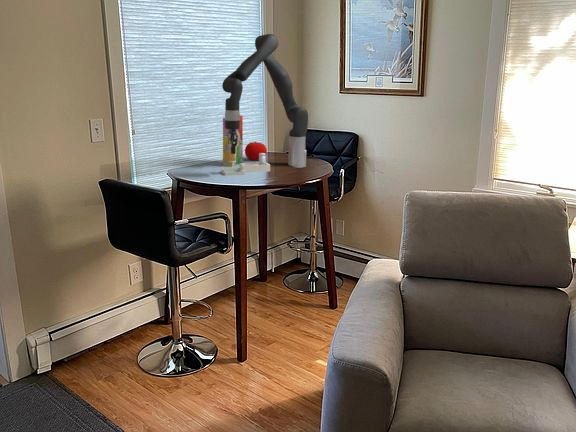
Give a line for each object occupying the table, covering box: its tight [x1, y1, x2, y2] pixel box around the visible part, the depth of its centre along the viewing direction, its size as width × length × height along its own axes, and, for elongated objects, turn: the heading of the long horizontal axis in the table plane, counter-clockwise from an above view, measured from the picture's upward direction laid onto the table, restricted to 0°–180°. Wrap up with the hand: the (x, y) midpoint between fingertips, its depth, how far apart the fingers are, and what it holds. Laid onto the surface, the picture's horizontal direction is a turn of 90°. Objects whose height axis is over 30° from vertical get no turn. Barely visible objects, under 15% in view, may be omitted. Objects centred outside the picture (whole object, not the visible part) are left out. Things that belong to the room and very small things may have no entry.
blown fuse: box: [229, 144, 236, 163], centre depth 277 cm, size 3×3×9 cm
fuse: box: [258, 153, 266, 165], centre depth 288 cm, size 3×3×9 cm
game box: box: [222, 114, 244, 168], centre depth 303 cm, size 21×6×27 cm, turn 168°
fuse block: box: [239, 161, 271, 173], centre depth 287 cm, size 15×7×4 cm, turn 109°
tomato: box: [244, 141, 268, 161], centre depth 323 cm, size 12×13×11 cm
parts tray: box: [220, 167, 245, 176], centre depth 280 cm, size 10×10×2 cm
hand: (232, 153), depth 277 cm, fingers closed on blown fuse, 3 cm apart
